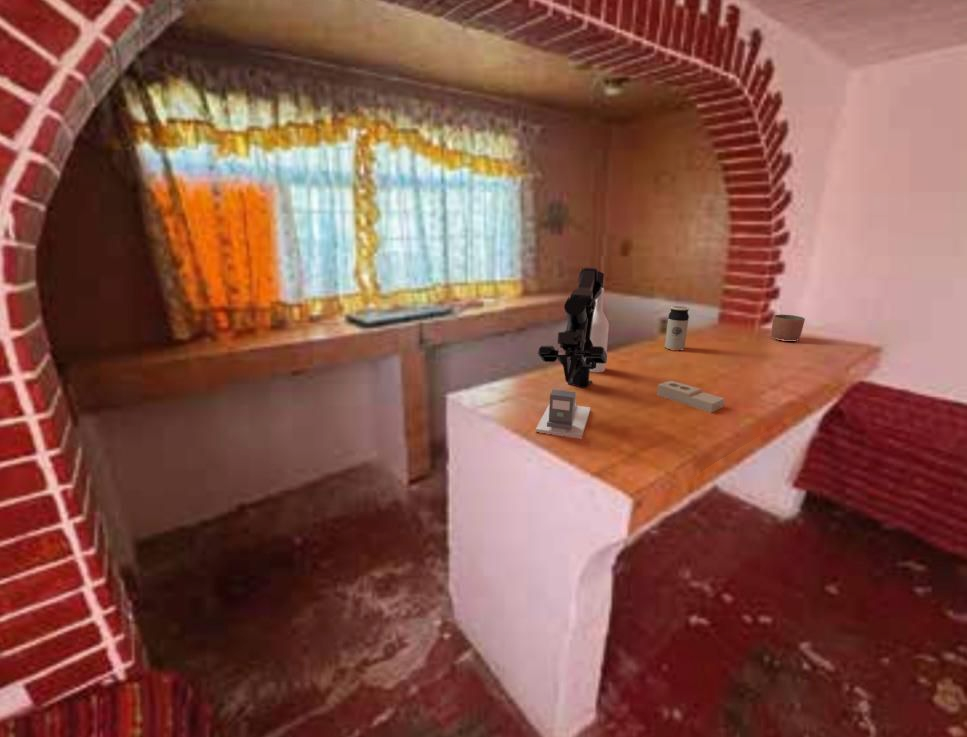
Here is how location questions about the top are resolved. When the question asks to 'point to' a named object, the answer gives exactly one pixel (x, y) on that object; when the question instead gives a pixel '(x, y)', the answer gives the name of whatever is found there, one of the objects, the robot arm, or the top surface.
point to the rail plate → (565, 429)
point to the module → (562, 407)
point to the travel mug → (677, 328)
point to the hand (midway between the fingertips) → (567, 381)
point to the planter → (787, 327)
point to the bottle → (599, 330)
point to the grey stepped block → (690, 396)
